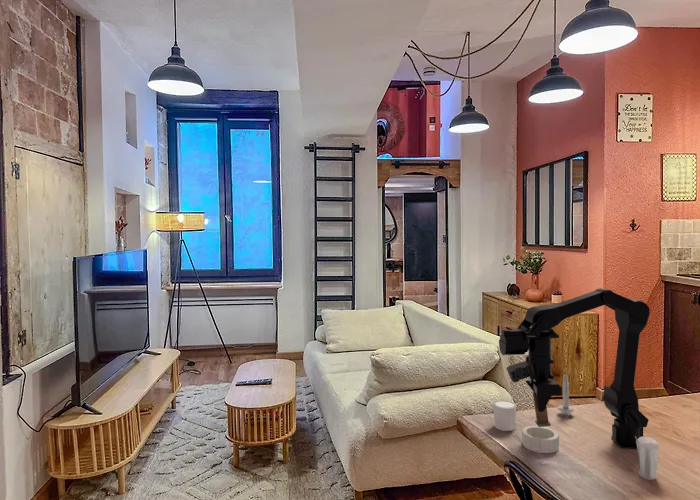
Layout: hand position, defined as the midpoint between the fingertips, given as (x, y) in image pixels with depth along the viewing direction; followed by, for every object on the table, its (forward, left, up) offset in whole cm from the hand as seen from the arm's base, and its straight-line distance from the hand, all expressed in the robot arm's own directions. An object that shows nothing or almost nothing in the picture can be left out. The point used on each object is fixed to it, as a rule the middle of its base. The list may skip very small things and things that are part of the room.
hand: (540, 410), depth 129 cm
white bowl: (0, 0, -10) cm, 10 cm away
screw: (-14, -23, -10) cm, 29 cm away
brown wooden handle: (-1, 0, -4) cm, 4 cm away
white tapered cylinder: (+7, -12, -10) cm, 17 cm away
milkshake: (-20, +15, -10) cm, 27 cm away
